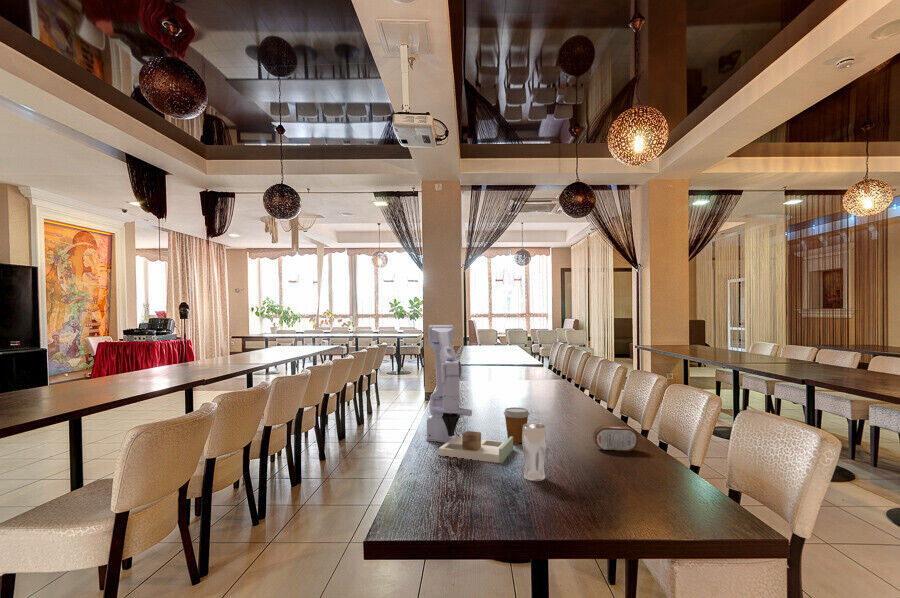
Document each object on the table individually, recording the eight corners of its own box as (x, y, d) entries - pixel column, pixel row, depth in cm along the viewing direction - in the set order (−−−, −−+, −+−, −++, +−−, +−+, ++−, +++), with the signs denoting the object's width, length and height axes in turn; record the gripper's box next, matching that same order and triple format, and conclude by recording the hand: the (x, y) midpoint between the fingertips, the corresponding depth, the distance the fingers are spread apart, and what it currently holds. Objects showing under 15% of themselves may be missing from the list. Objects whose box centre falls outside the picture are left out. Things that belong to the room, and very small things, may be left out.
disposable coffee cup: (531, 445, 164) (531, 412, 165) (505, 445, 164) (505, 412, 165) (527, 438, 174) (527, 407, 174) (502, 438, 174) (502, 407, 174)
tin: (636, 449, 159) (636, 425, 160) (639, 452, 156) (639, 428, 156) (593, 448, 161) (592, 424, 161) (594, 451, 158) (594, 426, 158)
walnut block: (462, 449, 151) (462, 434, 151) (467, 445, 155) (467, 430, 156) (476, 451, 149) (476, 435, 149) (481, 447, 154) (481, 432, 154)
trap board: (438, 455, 152) (438, 442, 152) (454, 443, 167) (454, 431, 167) (502, 463, 144) (502, 449, 144) (513, 449, 159) (513, 436, 159)
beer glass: (546, 482, 128) (546, 429, 128) (521, 481, 129) (521, 428, 129) (546, 474, 134) (546, 423, 135) (522, 472, 136) (522, 422, 136)
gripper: (427, 396, 154) (427, 436, 154) (467, 399, 149) (467, 440, 149) (435, 393, 161) (435, 431, 160) (473, 395, 156) (473, 435, 155)
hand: (451, 435), depth 155 cm, fingers closed
